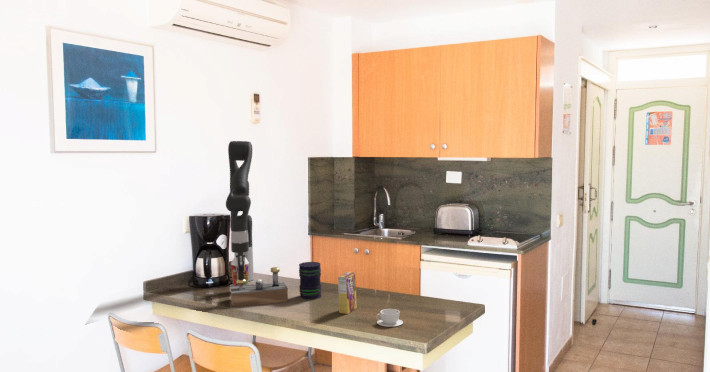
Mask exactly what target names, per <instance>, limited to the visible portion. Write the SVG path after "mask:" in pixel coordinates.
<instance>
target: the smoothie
mask: <svg viewBox="0 0 710 372" xmlns="http://www.w3.org/2000/svg"><path fill="white" fill-rule="evenodd" d="M230 266H231V277H232V286H238V285H239V284H237V279H239V278H238V268H237V264H236V257H233V258H232V260H231V263H230ZM248 277H249V262H248V260H247V259H246V257H245V266H244V279H246V283H245V284H244V285H249V281H248Z"/></svg>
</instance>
